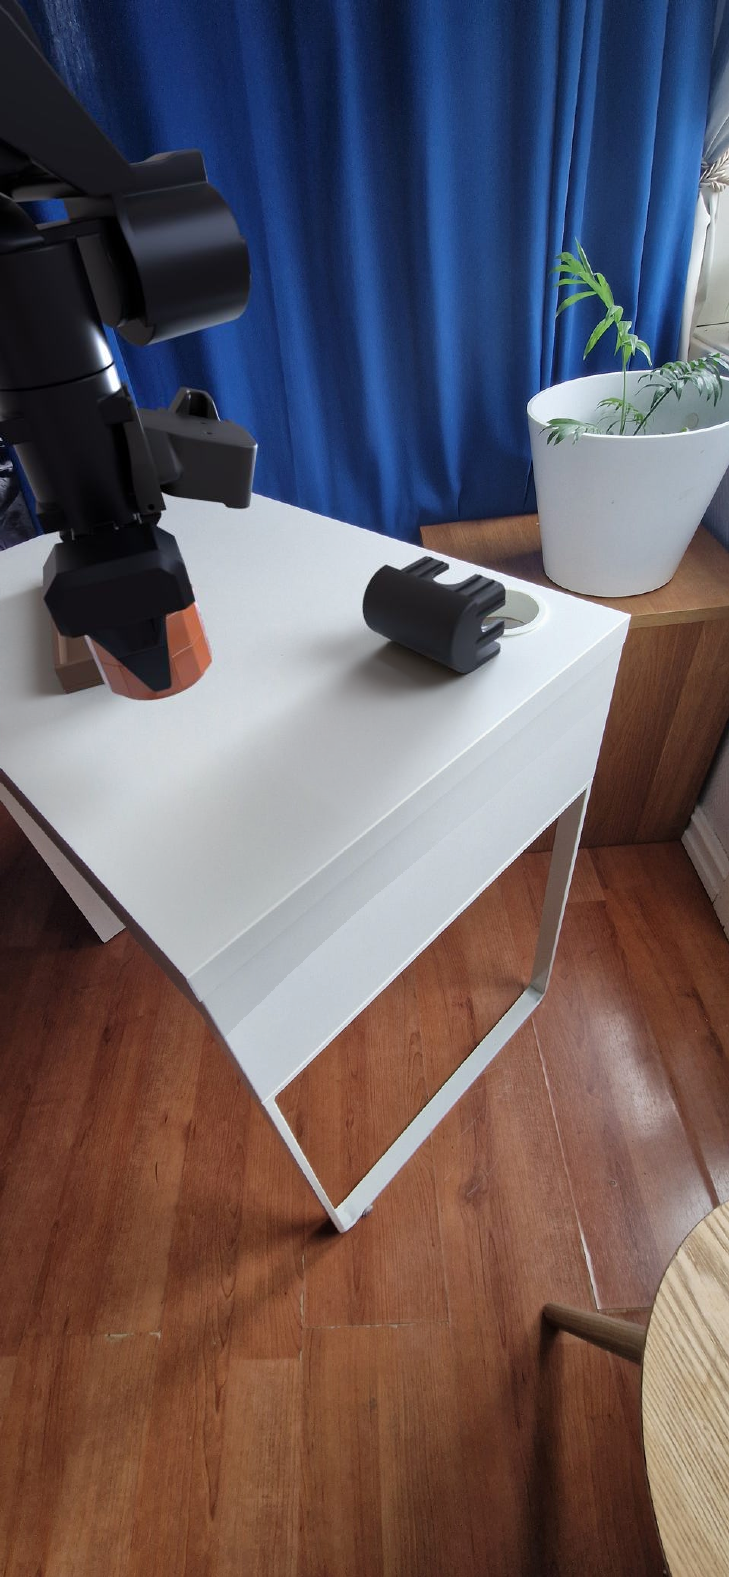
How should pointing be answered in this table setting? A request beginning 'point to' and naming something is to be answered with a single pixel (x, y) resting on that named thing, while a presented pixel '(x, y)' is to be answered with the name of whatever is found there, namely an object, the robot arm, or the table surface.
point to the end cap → (436, 613)
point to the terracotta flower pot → (184, 653)
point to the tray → (74, 662)
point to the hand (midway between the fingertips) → (155, 659)
